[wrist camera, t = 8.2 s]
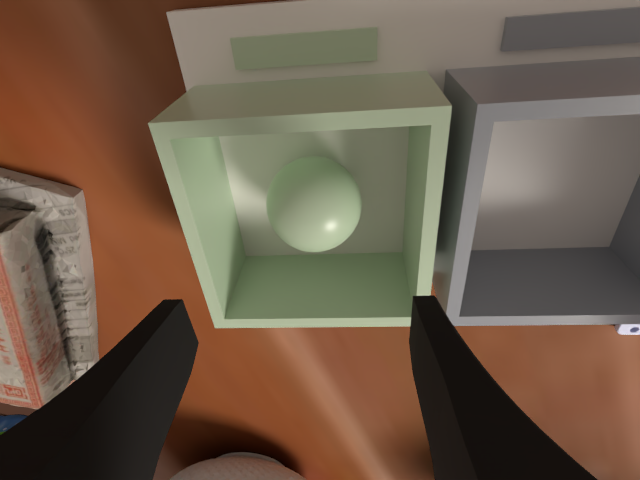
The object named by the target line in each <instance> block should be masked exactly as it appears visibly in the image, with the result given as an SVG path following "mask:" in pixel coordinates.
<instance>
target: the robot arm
mask: <svg viewBox="0 0 640 480" xmlns="http://www.w3.org/2000/svg"><path fill="white" fill-rule="evenodd" d="M615 330H616V331H617V333H619V334H622V335H640V324H616V325H615ZM409 344H410V353H411V362H412V370H413V376H414V381H415V385H416V389H417V394H418V398H419V403H420V407H421V411H422V416H423V420H424V424H425V429H426V433H427V437H428V442H429V446H430V451H431V457H432V462H433V469H434V476H435V480H597V479H596V478H595V477H594V476H593V475H591V474H590V473H589V472H588V471H587V470H585V469H584V468H583V467H582V466H581V465H579V464H578V463H577V462H576V461H575V460H574V459H573V458H572V457H570V456H569V455H568V454H567V453H566V452H565V451H564V450H563V449H562V448H561V447H559V446H558V445H557V444H556V443H555V442H554V441H553V440H552V439H551V438H550V437H549V436H547V435H546V434H545V433H544V432H543V431H542V430H541V429H540V428H539V427H538V426H537V425H536V424H535V423H534V422H533V421H532V420H531V419H530V418H529V417H528V416H527V415H526V414H525V413H524V412H523V411H522V410H521V409H520V408H519V407H518V406H517V405H516V404H515V403H514V402H513V400H512V399H511V398H510V397H509V396H508V395H507V394H506V393H505V392H504V391H503V389H502V388H501V387H500V386H499V385H498V384H497V383H496V381H495V380H494V379H493V378H492V377H491V375H490V374H489V373H488V372H487V371H486V369H485V368H484V367H483V366H482V364H481V363H480V362H479V360H478V359H477V358H476V357H475V355H474V354H473V353H472V351H471V350H470V349H469V347H468V346H467V344H466V343H465V342H464V340H463V339H462V338H461V336H460V335H459V333H458V332H457V330H456V329H455V327H454V326H453V324H452V323H451V321H450V320H449V318H448V316H447V315H446V313H445V312H444V310H443V308H442V307H441V305H440V303H439V301H438V299H437V298H436V297H435V296H413V301H412V313H411V326H410V338H409ZM197 347H198V340H197V337H196V335H195V332H194V329H193V327H192V324H191V321H190V319H189V316H188V313H187V311H186V308H185V305H184V303H183V300H182V299H177V300H163V301H162V302H161V303H160V304H159V305H158V306H157V307H156V308H154V309H153V310H152V311H151V312H150V313H149V314H148V315H147V316H146V317H145V318H144V319H143V320H142V321H141V322H140V323H139V324H138V325H137V326H136V327H135V328H134V329H133V330H132V331H131V332H130V333H128V334H127V335H126V336H125V337H124V338H123V339H122V340H121V341H120V342H119V343H118V344H117V345H116V346H115V347H114V348H113V349H111V350H110V351H109V352H108V353H107V354H106V355H105V356H104V357H102V358H101V359H100V360H99V361H98V362H97V363H96V364H94V365H93V366H92V367H91V368H90V369H89V370H88V371H86V372H85V373H84V374H83V375H82V376H81V377H79V378H78V379H77V380H76V381H75V382H73V383H72V384H71V385H70V386H68V387H67V388H66V389H65V390H63V391H62V392H61V393H59V394H58V395H57V396H55V397H54V398H53V399H51V400H50V401H49V402H47V403H46V404H45V405H43V406H42V407H41V408H39V409H38V410H36V411H35V412H33V413H32V414H30V415H29V416H27V417H26V418H25V419H23V420H22V421H20V422H19V423H17V424H16V425H14V426H13V427H11V428H10V429H8V430H7V431H6V432H4V433H2V434H1V435H0V480H152V479H153V476H154V472H155V469H156V465H157V462H158V459H159V455H160V452H161V450H162V447H163V444H164V441H165V438H166V436H167V433H168V431H169V428H170V426H171V423H172V421H173V418H174V416H175V413H176V411H177V408H178V406H179V403H180V401H181V398H182V395H183V393H184V390H185V388H186V385H187V382H188V380H189V377H190V374H191V371H192V368H193V364H194V360H195V356H196V352H197Z"/></svg>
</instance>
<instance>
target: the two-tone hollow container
mask: <svg viewBox="0 0 640 480" xmlns="http://www.w3.org/2000/svg"><path fill="white" fill-rule="evenodd" d="M166 14H167V18H168V21H169V25H170V29H171V33H172V37H173V41H174V45H175V48H176V52H177V56H178V60H179V64H180V68H181V72H182V75H183V79H184V83H185V87H186V91H187V92H186V93H185V94H183V95H182V96H181V97H180V98H178V99H177V100H176V101H175V102H173V103H172V104H171V105H170V106H169V107H167V108H166V109H165V110H164V111H162V112H161V113H160V114H159V115H157V116H156V117H155V118H154V119H152V120H151V121H150V122H149V123H148V125H149V128H150V131H151V134H152V137H153V140H154V143H155V146H156V149H157V152H158V156H159V159H160V162H161V165H162V168H163V171H164V174H165V177H166V180H167V183H168V186H169V189H170V192H171V195H172V198H173V201H174V204H175V207H176V210H177V214H178V217H179V220H180V223H181V226H182V229H183V232H184V235H185V238H186V241H187V244H188V247H189V250H190V253H191V256H192V259H193V262H194V265H195V268H196V272H197V275H198V278H199V281H200V284H201V287H202V290H203V293H204V296H205V299H206V302H207V305H208V308H209V311H210V314H211V317H212V320H213V323H214V326H215V328H279V327H388V326H411V313H412V301H413V296H430V294H431V285H432V282H433V285H434V289H435V293H436V297H437V299H438V301H439V303H440V305H441V307H442V308H443V310H444V312H445V313H446V315H447V316H448V318H449V320H450V321H451V323H452V324H453V326H496V325H605V324H640V0H286V1H274V2H262V3H250V4H238V5H226V6H214V7H202V8H190V9H178V10H172V11H169V12H166ZM310 156H318V157H325V158H328V159H331V160H334V161H336V162H337V163H339V164H341V165H342V166H343V167H345V168H346V169H347V170H348V171H349V172H350V173H351V175H352V176H353V177H354V179H355V181H356V183H357V185H358V187H359V190H360V194H361V200H362V208H361V215H360V219H359V222H358V224H357V226H356V228H355V230H354V231H353V233H352V234H351V235H350V236H349V237H348V238H347V239H346V240H345V241H344V242H343V243H341V244H340V245H338V246H337V247H335V248H332V249H330V250H327V251H322V252H306V251H301V250H298V249H296V248H293V247H291V246H290V245H288V244H287V243H285V242H284V241H283V240H282V239H281V238H280V237H279V236H278V235H277V234H276V232H275V231H274V230H273V228H272V226H271V224H270V222H269V219H268V215H267V208H266V199H267V194H268V190H269V187H270V184H271V182H272V181H273V179H274V177H275V176H276V175H277V173H278V172H279V171H280V170H281V169H282V168H283V167H284V166H286V165H287V164H289V163H291V162H292V161H294V160H297V159H300V158H303V157H310Z"/></svg>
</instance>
